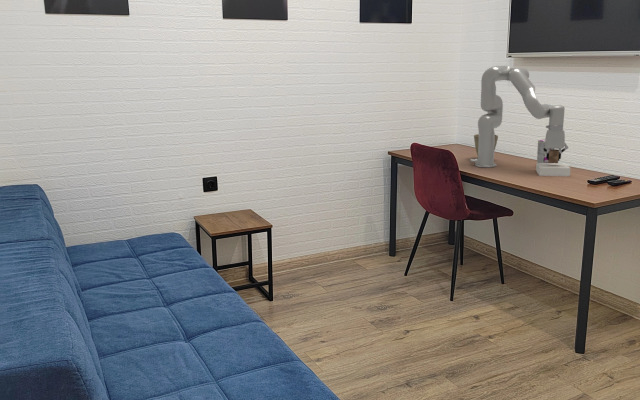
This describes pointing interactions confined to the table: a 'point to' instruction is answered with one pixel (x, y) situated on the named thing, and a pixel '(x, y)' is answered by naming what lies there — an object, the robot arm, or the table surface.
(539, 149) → the candy bar box
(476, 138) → the plant pot
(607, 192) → the table surface
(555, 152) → the walnut block
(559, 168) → the riser block
